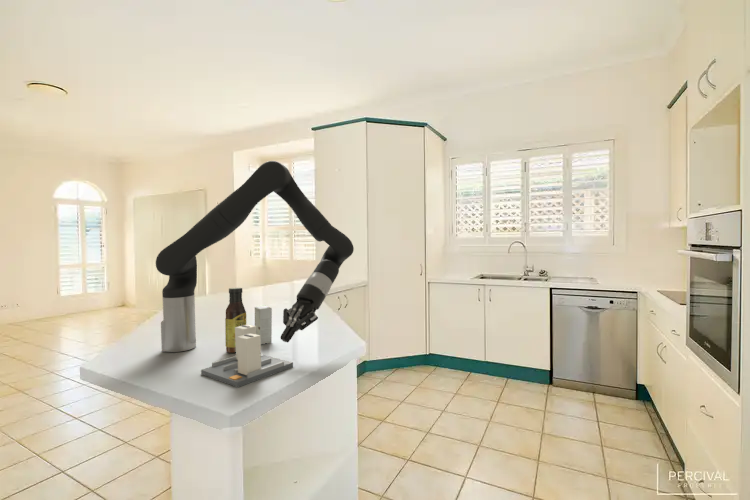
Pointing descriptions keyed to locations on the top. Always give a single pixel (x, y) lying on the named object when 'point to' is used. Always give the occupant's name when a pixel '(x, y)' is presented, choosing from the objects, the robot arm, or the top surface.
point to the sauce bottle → (234, 317)
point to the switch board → (229, 374)
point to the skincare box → (264, 323)
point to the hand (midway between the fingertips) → (284, 340)
